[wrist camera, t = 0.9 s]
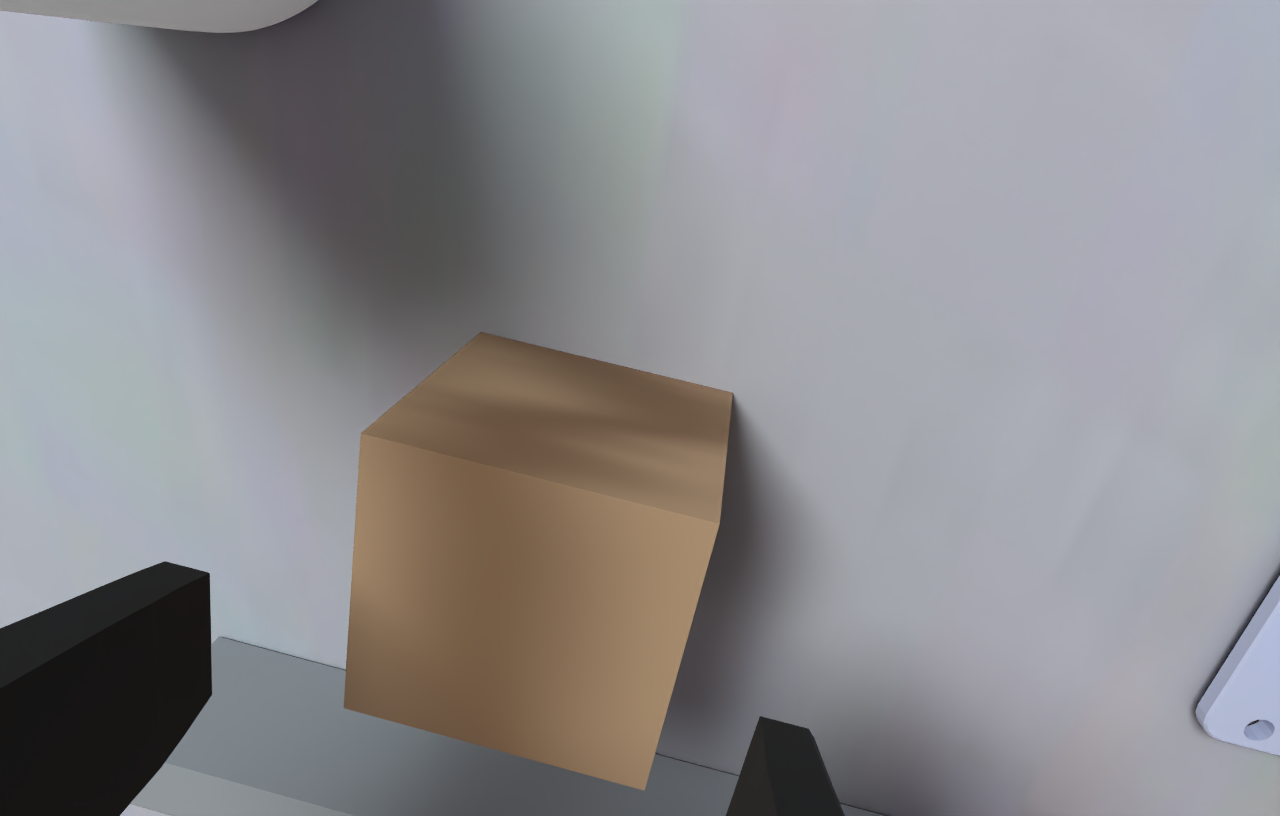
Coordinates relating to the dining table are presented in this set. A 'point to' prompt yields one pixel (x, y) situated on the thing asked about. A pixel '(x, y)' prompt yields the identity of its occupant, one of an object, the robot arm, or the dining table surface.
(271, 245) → the dining table surface
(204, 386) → the dining table surface
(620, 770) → the walnut block
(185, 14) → the can
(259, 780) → the low wall
